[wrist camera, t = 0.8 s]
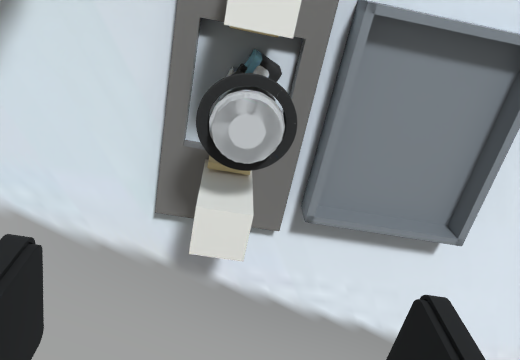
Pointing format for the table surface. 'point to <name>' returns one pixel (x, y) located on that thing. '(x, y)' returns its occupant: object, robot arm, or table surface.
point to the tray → (415, 125)
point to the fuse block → (193, 153)
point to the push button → (247, 117)
